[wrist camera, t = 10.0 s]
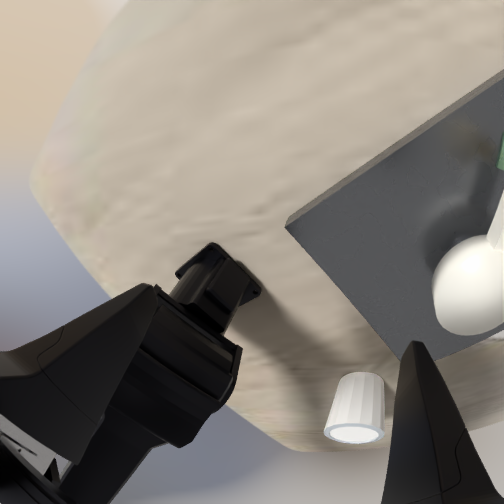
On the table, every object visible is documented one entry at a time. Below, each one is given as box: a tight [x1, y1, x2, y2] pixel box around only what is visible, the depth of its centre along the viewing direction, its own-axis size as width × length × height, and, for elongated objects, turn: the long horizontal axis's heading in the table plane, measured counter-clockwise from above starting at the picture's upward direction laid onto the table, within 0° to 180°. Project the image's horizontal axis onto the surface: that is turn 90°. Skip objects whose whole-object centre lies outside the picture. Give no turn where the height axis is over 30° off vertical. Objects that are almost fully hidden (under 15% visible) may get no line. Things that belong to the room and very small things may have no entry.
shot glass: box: [324, 372, 385, 444], centre depth 29 cm, size 7×7×7 cm
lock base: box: [285, 70, 504, 362], centre depth 17 cm, size 20×20×3 cm
